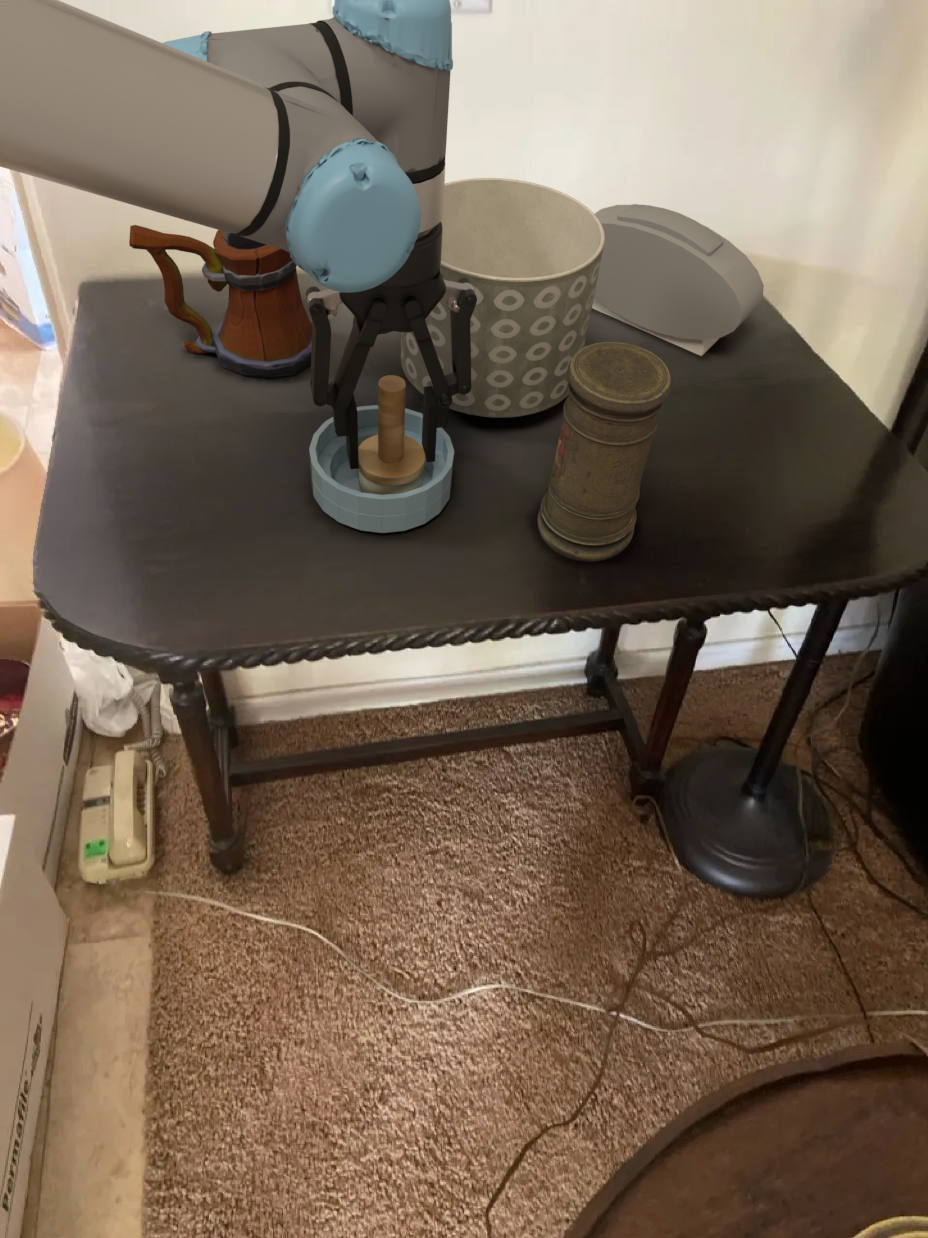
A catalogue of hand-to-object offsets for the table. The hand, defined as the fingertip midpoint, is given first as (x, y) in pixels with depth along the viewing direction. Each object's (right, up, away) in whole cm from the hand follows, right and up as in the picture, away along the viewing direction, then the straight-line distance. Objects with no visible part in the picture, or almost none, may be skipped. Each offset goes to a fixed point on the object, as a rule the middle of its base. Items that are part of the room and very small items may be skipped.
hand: (390, 455), depth 90 cm
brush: (0, -2, +3) cm, 3 cm away
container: (+18, -7, +2) cm, 20 cm away
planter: (+9, +10, +15) cm, 20 cm away
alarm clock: (+29, +20, +26) cm, 43 cm away
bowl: (-1, -3, +3) cm, 4 cm away
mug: (-18, +14, +16) cm, 28 cm away
